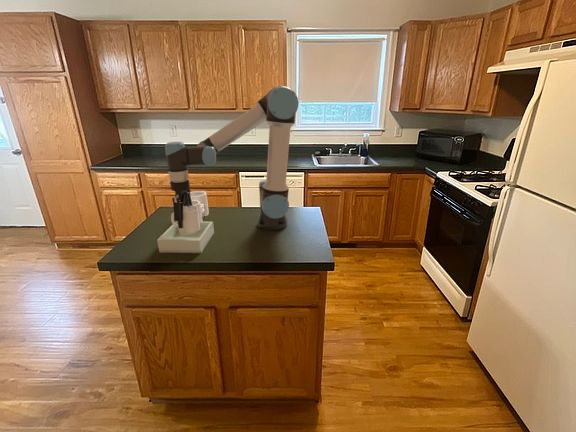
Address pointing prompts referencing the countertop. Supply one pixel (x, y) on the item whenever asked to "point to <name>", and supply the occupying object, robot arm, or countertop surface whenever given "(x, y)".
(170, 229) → the tub
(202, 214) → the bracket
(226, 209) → the countertop surface
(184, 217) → the cup
